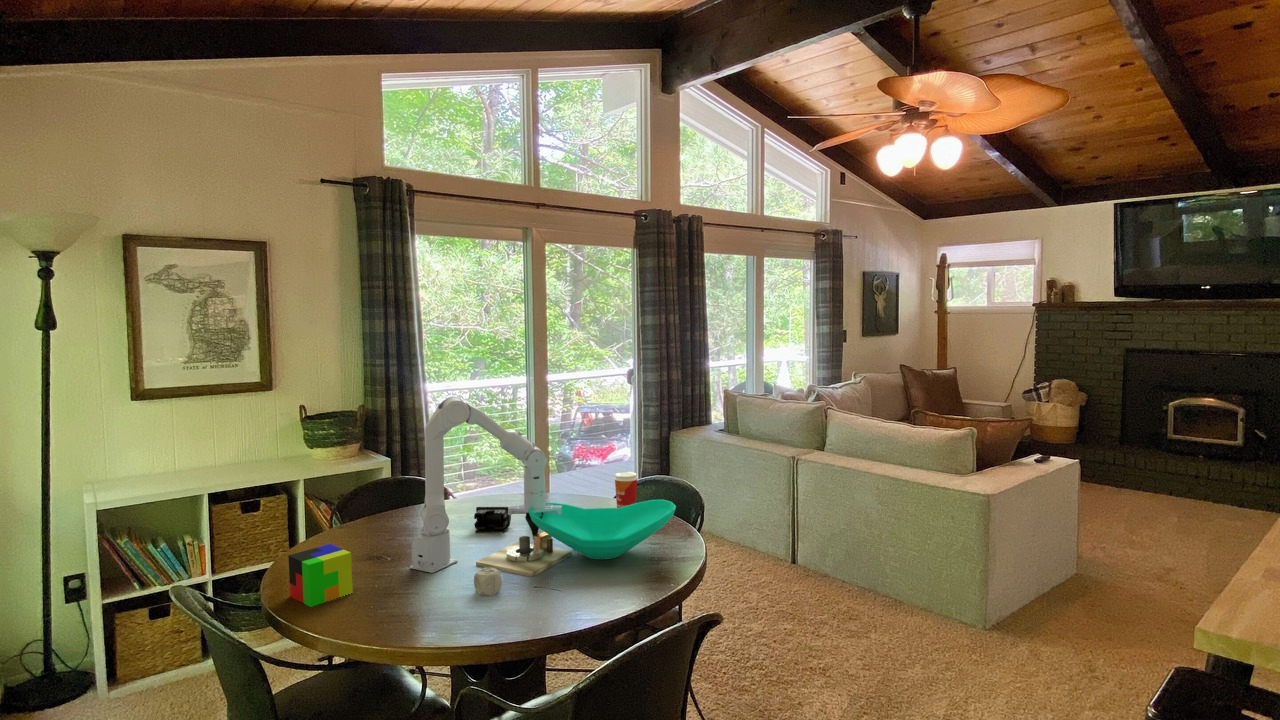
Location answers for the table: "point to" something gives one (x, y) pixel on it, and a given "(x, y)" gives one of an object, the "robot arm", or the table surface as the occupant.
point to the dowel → (549, 545)
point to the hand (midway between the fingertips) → (535, 539)
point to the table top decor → (605, 526)
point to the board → (523, 567)
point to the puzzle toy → (320, 574)
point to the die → (487, 581)
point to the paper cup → (625, 488)
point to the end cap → (492, 519)
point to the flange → (535, 549)
